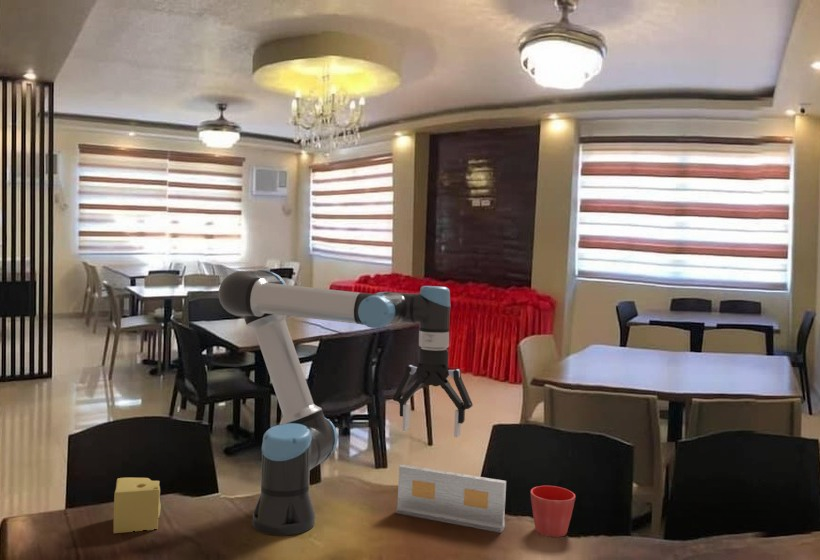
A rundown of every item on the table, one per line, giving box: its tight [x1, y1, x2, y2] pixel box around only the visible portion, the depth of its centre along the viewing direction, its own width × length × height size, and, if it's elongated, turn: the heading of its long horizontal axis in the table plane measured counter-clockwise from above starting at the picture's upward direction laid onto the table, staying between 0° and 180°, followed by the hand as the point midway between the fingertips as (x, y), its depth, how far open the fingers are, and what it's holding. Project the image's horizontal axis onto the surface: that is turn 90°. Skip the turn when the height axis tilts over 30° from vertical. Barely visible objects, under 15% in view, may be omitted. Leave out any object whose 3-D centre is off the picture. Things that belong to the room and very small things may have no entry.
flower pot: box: [530, 485, 576, 538], centre depth 169 cm, size 11×11×10 cm
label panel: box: [395, 464, 507, 533], centre depth 173 cm, size 28×4×12 cm, turn 69°
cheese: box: [113, 477, 162, 534], centre depth 163 cm, size 10×11×10 cm
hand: (431, 432), depth 169 cm, fingers open, 13 cm apart
